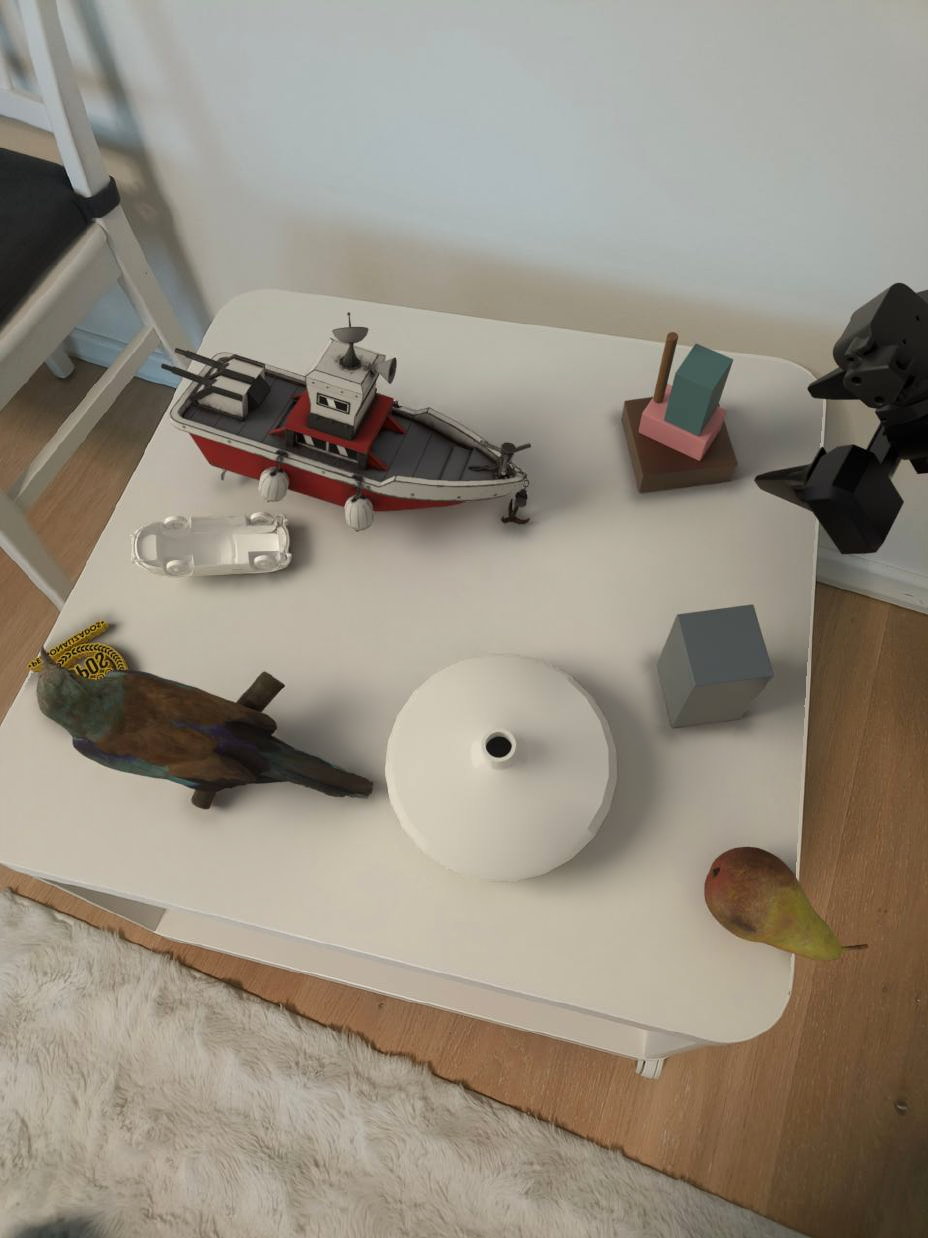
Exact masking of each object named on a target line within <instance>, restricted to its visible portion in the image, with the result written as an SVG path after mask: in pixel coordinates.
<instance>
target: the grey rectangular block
mask: <svg viewBox="0 0 928 1238" xmlns="http://www.w3.org/2000/svg"><path fill="white" fill-rule="evenodd" d="M656 669H657V672H658V673H657V674H658V677H659V682H660V685H661V690H662V694H663V698H664V703H665V707H666V711H667V716H668V719H669V725H670V728H671V729H674V728H675V729H677V728H683V727H691V726H698V725H706V724H713V723H714V724H715V723H721V722H722V723H723V722H729V721H736V720H740V719H741V718H742V717H743V716H744V715H745V713H746V712H747V711H748V710H749V708H750V707H751V706H752V704H753V703H754V702H755V701H756V700H757V698H758V697H759V695H760V694H762V691H763V690H764V689H765V688H766V686H767V685H768V684H769V683H770V681H771V680H772V679H773V678H774V677H775V674H774V670H773V667H772V664H771V661H770V657H769V653H768V650H767V646H766V643H765V639H764V636H763V633H762V629H761V626H760V622H759V618H758V616H757V612H756V608H755V605H754V604H753V603H752V604H745V605H737V606H736V605H735V606H730V607H722V608H715V609H707V610H700V611H699V610H698V611H692V612H685V613H677V614H676V616H675V618H674V620H673V623H672V626H671V628H670V630H669V633H668V635H667V638H666V641H665V642H664V645H663V648H662V650H661V652H660V655H659V658H658V660H657V662H656Z"/></svg>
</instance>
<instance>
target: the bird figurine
mask: <svg viewBox="0 0 928 1238" xmlns="http://www.w3.org/2000/svg"><path fill="white" fill-rule="evenodd" d="M39 651H40V652H39V654H40V655H41V660H42V666H43V667H42V669H41V670H40V671H38V674H37V683H36V699H37V703H38V707H39V710H40V712H41V713H42V714H43V715H44V716H45V717H47V718H48V719H50V721H51V720H52V721H53V722H55V724H58V725H59V726H60V727H61V728H63V729H64V730H65V731H67V733H68V734H69V735H70V736H71V737H72V739H71V740H72V741H71V742H72V746H73V748H74V749H75V750H76V751H77V752H78V753H79V754H81V755H82V756H84V757H85V758H86V759H89V760H91V761H92V762H95V763H97V764H99V765H101V766H104V767H106V768H109V769H111V770H114V771H118V772H121V773H125V774H126V773H127V774H132V775H136V776H141V777H147V778H153V779H159V780H167V781H170V782H173V783H176V784H179V785H182V786H184V787H186V788H189V789H192V790H194V792H193V794H192V796H191V799H190V801H191V804H192V805H193V806H195V807H196V808H198V809H201V810H204V811H205V810H209V809H211V807H212V804H213V803H214V799H215V798H216V796H217V793H219V792H220V793H221V792H223V791H224V790H228V789H230V790H231V789H234V788H237V787H239V786H246V785H260V784H276V783H291V784H294V785H298V786H302V787H304V788H307V789H310V790H314V791H317V792H319V793H322V794H324V795H326V796H329V797H334V798H345V797H348V798H353V799H356V798H357V799H358V798H359V799H364V800H368V799H369V798H370V795H371V794H372V793H373V790H374V789H373V788H374V781H370V780H369V779H368V778H366V777H363V776H362V775H359V774H358V775H357V774H356V773H355V772H351V771H347V769H345V768H343V767H341V766H339V765H337V764H334V763H333V762H330V761H328V760H325V758H322V757H320V756H317V755H314V754H310V753H308V752H305V751H303V750H300V749H296V748H295V747H293V746H291V745H290V744H289V743H287V742H285V741H283V740H281V739H279V738H277V737H276V736H274V735H273V734H274V733H275V732H276V731H277V730H278V725H277V722H276V721H275V720H274V719H273V718H272V717H271V716H270V715H268V714H266V713H264V712H263V711H264V710H265V709H266V708H267V707H268V706H269V705H270V704H271V703H272V701H273V700H274V699H275V698H276V697H277V695H278V694H279V693H280V692H281V691H282V690H283V689H284V688H285V687H286V685H285V684H284V683H283V682H282V681H280V680H279V679H278V678H276V677H274V675H272V674H270V672H268V671H262V672H261V673H260V674H259V675H258V676H257V677H256V679H255V680H254V682H253V683H252V684H251V685H250V686H249V687H248V688H247V689H246V690H245V692H243V694H241V696H240V697H239V698H238V699H237V700H236V702H235V701H233V700H229V699H226V698H224V697H221V696H218V695H216V694H213V693H211V692H209V691H206V690H204V689H201V688H198V687H197V686H196V687H195V686H193V685H189V684H186V683H183V682H180V681H177V680H173V679H168V678H165V677H161V676H159V675H156V674H154V673H150V672H147V671H144V670H143V671H142V670H135V669H128V670H123V669H117V668H116V669H113V670H112V671H110V672H108V673H107V674H106V675H105V676H104V677H103V678H102V679H97V680H95V679H89V678H86V677H82V676H80V675H78V674H77V673H75V672H74V671H73V670H68V669H65V668H64V667H62V666H59V665H58V664H57V663H56V661H55V662H54V661H53V660H52V659H51V657H50V656H49V655H48V654H47V650H46V649H45V646H44V645H42V646H41V647H40V650H39Z"/></svg>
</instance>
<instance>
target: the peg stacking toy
mask: <svg viewBox="0 0 928 1238" xmlns="http://www.w3.org/2000/svg"><path fill="white" fill-rule="evenodd" d="M678 340H679V334H678V333H677V332H675V331H670V332H668V333H667V335H666V338H665V343H664V347H663V351H662V357H661V360H660V365H659V369H658V375H657V379H656V383H655V387H654V393H653V396H652V397H653V398H652V400H651V401H650V403H649V404H648V406H647V407H646V409H645V410H644V412H643V413H642V417H641V422H640V427H639V433H641V434H643V435H645V436H647V437H649V438H651V439H653V440H656V441H658V442H660V443H662V444H664V445H666V446H668V447H670V448H673V449H675V450H677V451H679V452H681V453H683V454H685V455H687V456H690V457H692V458H694V459H696V460H698V461H701V459H702V458H703V456H704V455H705V453H706V451H707V450H708V448H709V447H710V445H711V444H712V442H713V440H714V439H715V437H716V436H717V434H718V433H719V431H720V429H721V426H722V424H723V421H725V418H726V416H727V415H726V414H727V412H728V410H727V409H725V408H723V407H721V406H720V407H719V406H718V404H720V402H721V398H722V395H723V391H724V390H725V386H726V383H727V380H728V377H729V374H730V371H731V368H732V366H733V361H734V359H733V358H731V357H730V356H727V355H725V354H722V353H720V352H718V351H715V350H713V349H710V348H708V347H706V346H703V345H701V344H699V343H697V342H696V343H695V344H694V345H693V346H692V348H691V349H690V350H689V353H688V354H687V355H686V357H685V358H684V360H683V361H682V362H681V364H680V366H679V367H678V368H677V370H676V371H675V374H674V377H673V381H672V384H670V383H668V382H669V378H670V374H671V369H672V365H673V361H674V357H675V353H676V348H677V344H678Z"/></svg>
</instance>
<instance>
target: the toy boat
mask: <svg viewBox="0 0 928 1238" xmlns="http://www.w3.org/2000/svg"><path fill="white" fill-rule="evenodd" d="M346 315H347V316H348V326H344V327H339V328H333V330H331V332H332V333H331V334H332V335H333V337H334V338H333V337H329V339H328V340H327V342H326V343H325V345H324V346H323V347H322V349H321V351H320V352H319V354H318V356H317V357H316V359H315V360H314V362H313V363H312V365H311V366H310V368H309V370H307V373H306V374H305V375H302V374H299V373H296V372H293V371H290V370H286V369H284V368H280V367H277V366H273V365H271V364H267V363H264V362H262V361H258V360H256V359H255V360H254V359H251V358H248V357H245V356H242V355H239V354H236V353H233V352H227V351H225V352H223V351H222V352H218V353H216V354H214V355H213V356H212V357H211V358H209V357H207V356H203V355H201V354H198V353H195V352H193V351H191V350H184V349H182V348H178V347H175V348H174V353H176V354H178V355H181V356H184V358H186V359H189V360H191V361H195V362H198V363H200V364H203V365H205V366H204V367H203V368H202V369H201V370H200V372H199V373H198V374H197V373H193V372H191V371H188V370H185V369H182V368H180V367H178V366H175V365H173V366H172V365H169V364H167V363H161V365H160V368H161V369H163V370H165V371H168V372H171V374H173V375H176V376H178V377H182V378H184V379H186V380H189V381H191V382H190V383H189V385H188V387H187V388H186V389H185V391H184V392H183V393H182V394H181V396H180V397H179V399H177V400H176V402H175V404H174V405H173V406H172V408H171V409H170V411H169V420H170V421H169V422H170V424H171V425H172V426H173V427H174V428H175V429H177V430H179V431H182V432H185V433H188V434H189V436H190V437H191V439H192V440H193V442H194V444H196V447H197V448H198V449H199V451H200V453H201V454H202V455H203V457H204V458H205V460H206V461H207V463H208V464H209V466H211V467H214V468H218V469H221V470H222V473H221V474H220V480H221V481H225V475H226V473H227V472H230V473H234V474H236V475H240V476H243V477H247V478H249V479H252V480H257V481H259V482H258V492H259V495H260V496H261V497H262V499H263V500H266V502H267V503H269V502H270V503H276V502H277V503H278V502H280V501H282V500H283V499H284V498H285V497H287V496H286V495H287V493H288V491H292V492H295V493H297V494H302V495H304V496H308V497H311V498H314V499H318V500H321V501H324V502H326V503H330V504H333V505H336V506H340V507H342V508H343V509H344V518H345V523H346V525H348V528H350V529H352V530H354V531H355V532H361V531H365V530H367V529H369V528H370V527H371V526H372V524H373V522H374V512H379V513H381V512H383V513H384V512H400V511H411V510H412V511H413V510H425V509H435V508H436V509H437V508H447V507H453V506H457V505H461V504H464V503H466V502H479V501H488V500H494V499H499V498H502V497H505V496H508V495H511V494H512V493H513V492H514V491H515V490H516V489H517V488H518V487H519V486H520V485H521V484H522V483H523V484H522V486H523V487H524V488H521V489H520V491H517V492H515V495H514V498H515V500H514V499H513V498H511V499H510V500H509V502H508V509H507V512H508V515H507V516H506V517H505V516H502V517H501V518H500V521H501V522H502V524H508V523H514V524H517V525H526V524H527V523H529V521H531V519H530V517H527V518H525V519H524V518H523V519H522V518H519V517H517V516H516V515H517V513H518V511H519V509H520V508H525V507H526V506H527V503H528V498H529V495H528V490H527V489H526V488H528V487H529V485H530V480H529V479H528V474H527V473H526V472H524V471H523V470H522V467H518V466H517V465H516V464H515V463H514V462H513V461H512V459H513V456H514V454H515V453H517V452H521V451H524V450H528V449H531V448H532V444H531V443H530V442H527V443H524V444H521V445H519V446H516V445H515V444H514V443H513V442H509V441H506V442H502V443H501V445H500V446H501V447H499V446H497V445H495V444H492V443H491V442H489V441H487V440H486V439H485V438H483V437H482V436H480V435H479V434H478V433H476V432H474V431H473V430H471V429H470V428H468V427H467V426H465V425H464V424H463V423H460V422H458V421H456V420H455V419H452V418H451V417H449V416H447V415H445V414H443V413H441V412H439V411H437V410H435V409H433V408H431V407H425V408H422V409H418V410H417V409H416V410H415V409H412V408H409V407H405V406H402V405H400V404H399V400H394V399H395V398H394V397H392V396H388V395H385V394H382V393H379V392H378V387H377V381H378V378H379V376H381V377H383V379H384V380H385V381H386V382H387V383H388V384H389V385H391V384H392V383H393V381H394V379H395V376H396V372H397V368H398V367H397V365H398V362H397V361H398V360H397V358H396V357H393V358H390V359H387V358H386V357H387V355H386V354H384V353H380V352H378V351H374V350H372V349H367V348H364V347H361V346H358V345H355V344H357V343H359V342H361V341H363V340H364V339H365V338H366V337H367V336H368V332H369V328H368V327H366V326H352V323H351V312H347V313H346ZM386 359H387V360H386ZM525 483H527V485H526V484H525ZM513 504H514V505H513ZM513 506H514V507H513Z"/></svg>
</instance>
